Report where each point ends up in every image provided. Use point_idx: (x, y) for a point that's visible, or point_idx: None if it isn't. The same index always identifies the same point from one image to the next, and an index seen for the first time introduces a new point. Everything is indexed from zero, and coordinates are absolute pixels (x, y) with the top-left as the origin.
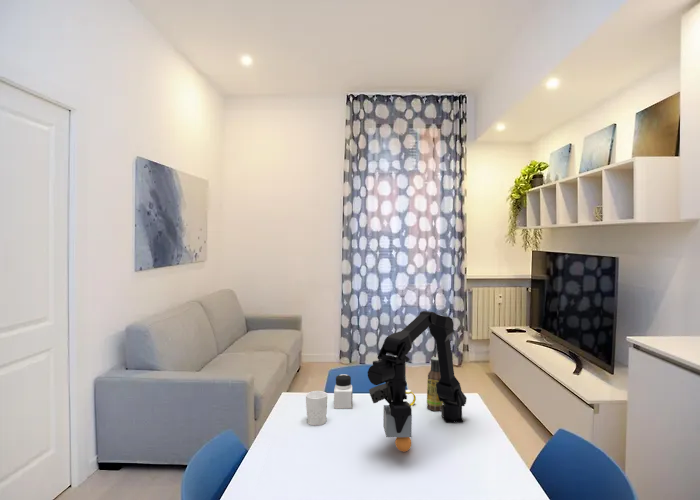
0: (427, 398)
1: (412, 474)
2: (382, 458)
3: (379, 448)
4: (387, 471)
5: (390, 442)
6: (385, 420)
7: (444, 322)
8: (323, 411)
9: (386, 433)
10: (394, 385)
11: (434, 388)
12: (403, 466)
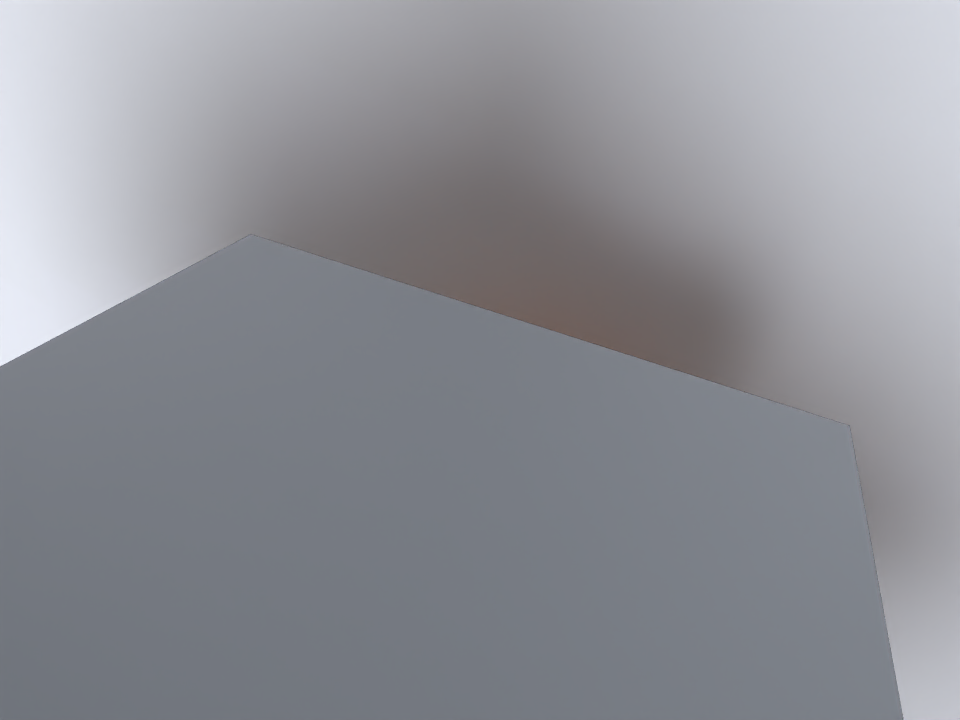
0: None
1: (57, 280)
2: (392, 70)
3: (709, 136)
4: (89, 22)
5: (833, 391)
6: (205, 476)
7: None
8: None
9: (196, 269)
10: None
11: None
12: (190, 263)
